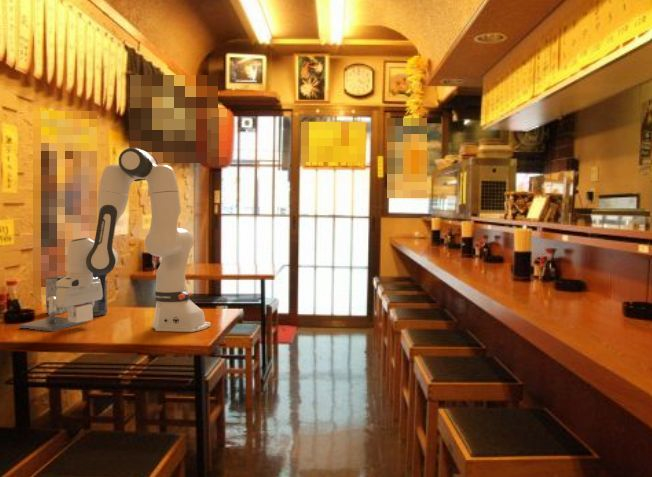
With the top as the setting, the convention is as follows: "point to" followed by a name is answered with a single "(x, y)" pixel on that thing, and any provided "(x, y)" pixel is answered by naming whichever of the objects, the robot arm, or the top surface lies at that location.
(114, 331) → the top surface
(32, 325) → the post stand
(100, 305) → the beverage bottle
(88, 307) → the white cube
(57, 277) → the coffee box
